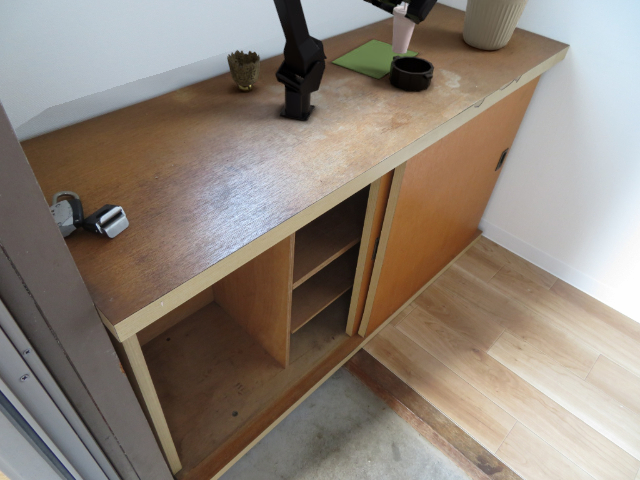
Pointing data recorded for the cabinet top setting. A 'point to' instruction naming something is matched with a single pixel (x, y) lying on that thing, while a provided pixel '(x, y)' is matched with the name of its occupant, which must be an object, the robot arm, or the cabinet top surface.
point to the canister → (491, 22)
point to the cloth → (371, 59)
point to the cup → (244, 69)
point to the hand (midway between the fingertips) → (408, 19)
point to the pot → (410, 73)
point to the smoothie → (401, 30)
